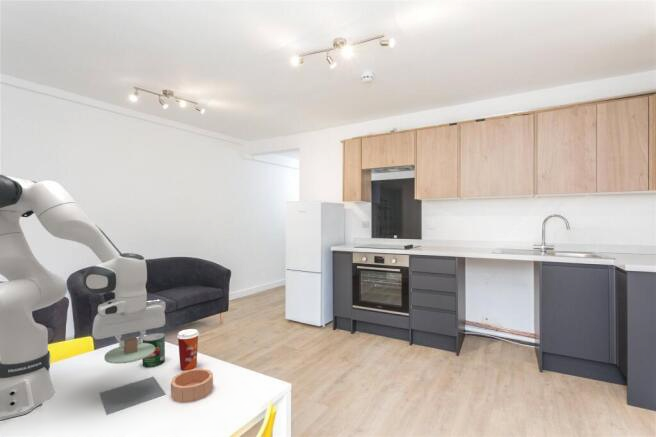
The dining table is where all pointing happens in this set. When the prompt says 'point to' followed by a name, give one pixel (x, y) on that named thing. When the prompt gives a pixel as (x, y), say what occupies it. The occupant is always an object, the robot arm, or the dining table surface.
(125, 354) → the cover
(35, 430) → the dining table surface
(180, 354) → the paper cup
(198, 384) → the bowl
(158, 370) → the dining table surface
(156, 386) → the mat
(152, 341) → the canned tomato
